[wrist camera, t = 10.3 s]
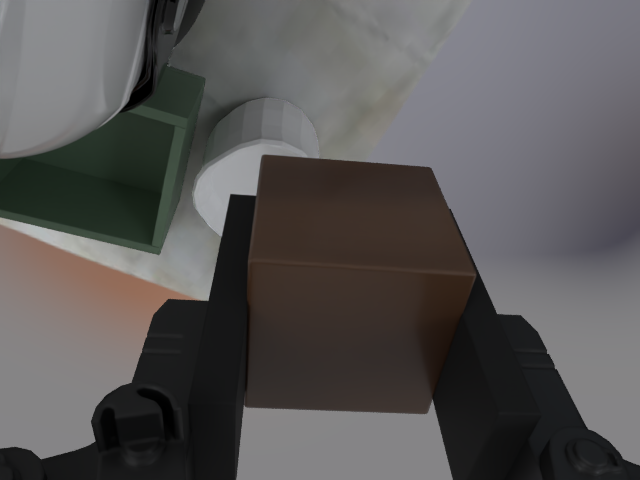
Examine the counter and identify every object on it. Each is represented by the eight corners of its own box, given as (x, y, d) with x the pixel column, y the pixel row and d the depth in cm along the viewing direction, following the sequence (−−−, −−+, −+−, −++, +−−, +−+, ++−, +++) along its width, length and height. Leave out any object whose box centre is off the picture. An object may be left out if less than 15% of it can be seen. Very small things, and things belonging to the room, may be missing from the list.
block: (261, 152, 13) (247, 259, 10) (432, 165, 14) (479, 273, 10) (255, 285, 16) (243, 409, 12) (399, 293, 16) (428, 415, 13)
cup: (196, 168, 49) (176, 227, 41) (233, 71, 44) (219, 116, 36) (289, 205, 52) (288, 266, 44) (335, 117, 47) (343, 168, 39)
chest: (206, 77, 44) (188, 118, 37) (179, 200, 51) (159, 255, 44) (20, 19, 41) (-39, 51, 34) (18, 158, 48) (-32, 210, 41)
